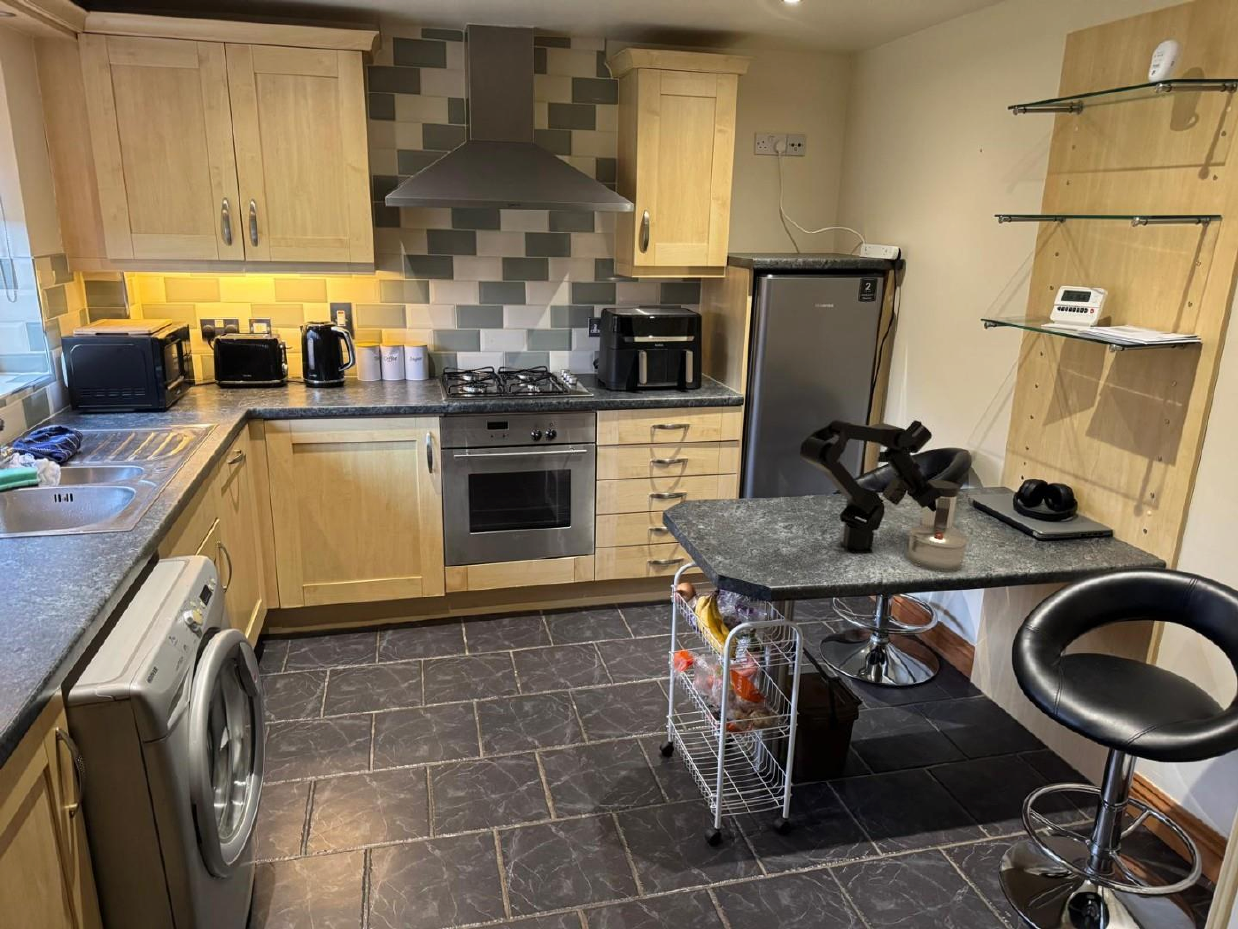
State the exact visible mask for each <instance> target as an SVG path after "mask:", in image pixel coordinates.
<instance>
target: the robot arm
mask: <svg viewBox="0 0 1238 929" xmlns="http://www.w3.org/2000/svg"><path fill="white" fill-rule="evenodd" d="M834 437H837V438H838V439H837V440H836V442H834V443H833V442H829V441H830V439H833V438H834ZM932 438H933V435H932V432H931V431H930V430H929V429H928V427H926V426H925V425H923V424H922V421H919V420H915V419H914V420H913V421H912V422H911V423H910V424H909V426H908V427H907V428H906V429H905V428H902V427H899V426H896V425H892V424H888V423H885V422H883V423H874V425H867V424H861V423H855V422H849V421H844V420H842V419H841V420H840V419H834V420H832V421H831V422H830V423H829V424H828V425H827V426H825V427H822V428H819V429H817V430H815V431H814V432H812V433H811V434H810V435H809V436H807V438H805V440H804V441H803V442H802V443H801V446H800V449H799V450H800V451H799V455H800V458H801V459H803V460H804V461H806V463H808V464H810V465H812V466H813V467H815V468H817V469H819V470H820V471H822V473H824V475H825V476H826V477H827V478H828V479H829V481H830V482H831V483H832V484H833V485H834V486H835V487H836V488H837V490H838V491H839V492H840V493H841V494H842V496H843V497H844V498H845V499H846V506H845V508H844V509H843V510H842V512H841V513H840V514H839V519H840V523H844V531H843V537H842V541H839V545H841V546H842V548H843V549H845V550H846V551H847V552H848V553H850V554H851V553H853V554H858V553H865V554H866V553H869V554H871V553H873V552H874V550H873V549H872V548H873V543H874V537H875V533H874V531H878V530H879V528H880V527H881V526H880V525H881V523H882V520H883V518H884V516H885V504H884V503H883V502H884V501H885V500H884V499H886V500H887V501H889V503H891V504H893V505H895V506H898V505H900V502H902V500H903V499H904V498H905V495H906V494H907V495H908V496H909V497H910V498H911V499H912V500H913V501H914V502H916V503H917V504H918V506H920V507H921V508H923V509H924V507H926V506H927V507H928V508H929V509H930V510H931V511H932V512H934V511H936V500H937V499H938V498H940V497H941V496H942V495H943V492H942V491H941V489H940V488H939V487H938V486H937V485H935V484H932V483H929V481H930V480H929V478H928V476H927V475H926V474H924V472H923V471H922V469H921V466H920V465H919V463H918V462H916V460H915V459H914V457H913V456H912V455H911V454H918V453H919V451H921V450H922V449H923V447H925V446H926V444H927V443H928V442H929V441H930V440H931V439H932ZM850 440H855V441H863V442H869V443H873V444H875V445H878V446H881V447H883V448H886V449H885V450H884V451H879V452H878V457H877V462H878V463H887V464H888V465H889V466H890V468H891V470H893V471H892V475H893V476H894V479H892V480H891V481H890V483H889V484H888V485H887V486H886V487H885V488H884V490H883V491H882V496H883V497H884V499H882V498H881V497H880V495H879V493H878V492H876V491H874V490H871V489H869V488H866V487H863V486H861V485H860V484H859V483H858V481H857V480H856V479H855V478H854V476H852V474H851V473H850V472H849V471H848V470H847V469H846V467H845V466H844V464H842V462H841V455H842V454H843V453H844V452H845V450H846V447H847V443H848V441H850ZM856 517H857V518H856ZM859 518H860V519H859ZM862 519H863V520H862ZM864 520H865V521H864Z"/></svg>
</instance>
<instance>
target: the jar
mask: <svg viewBox="0 0 1238 929" xmlns="http://www.w3.org/2000/svg"><path fill="white" fill-rule="evenodd" d="M928 482H929V483H932V484H935V485H937V486H938V487H939V488H940V489H941V491H942V492H943V495H942V496H941V497H942V498H948V499H950V509H949V515H948V521H947V526H946V527H947V528H950V529H952V525H953V520H954V516H955V515H954V514H955V508H956V504H957V498H958V494H959V488H960V487H959V485H958V484H956V483H954V482H952V481H948V480H943V479H942V480H941V479H932V480H928ZM937 502H938V499H937V500H936V508H937ZM935 514H936V511H934V512H932V511H931V510H930V509H929V508H928V507H927V506H926V507H923V512H922V519H921V524H920V525H934V520H935Z"/></svg>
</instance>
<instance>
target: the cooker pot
mask: <svg viewBox="0 0 1238 929" xmlns="http://www.w3.org/2000/svg"><path fill="white" fill-rule="evenodd" d="M966 546H967V545H966ZM966 546H964V547H960V548H943V547H936V546H932V545H928V544H925V543H922V542H919V541H917V540H915V539H914V538H912V537H911V535H910V536H909V543H908V550H907V554H906V555H907V556H906V557H907V558H908V559H909V560H910V561H911V562H910V561H909V560H908V559H907V558H906V559H907V560H908V561H909V562H910V563H912V562H913V563H914V565H915V564H917V565H920V566H922V567H924V568H923V569H926V568H927V569H926V570H931V571H935V570H937V571H936V572H943V573H944V572H946V573H947V572H948V573H949V572H951V573H952V572H957V571H959V570H961V569H962V568H963V564H964V558H965V552H966V549H967V548H966ZM913 563H912V564H913ZM917 565H916V566H917ZM920 566H919V567H920ZM922 567H921V568H922Z"/></svg>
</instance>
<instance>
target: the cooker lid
mask: <svg viewBox="0 0 1238 929" xmlns="http://www.w3.org/2000/svg"><path fill="white" fill-rule="evenodd" d="M949 509H950V499H948V498H942V497H940V498H938V502H937V508H936V514H935V520H934V525H923V524H918V525H914V526H912V527H911V528H910V531H909V534H910V535H911V537H912V538H914V539H915V540H917V541H919V542H922V543H925V544H928V545H932V546H936V547H943V548H960V547H964V546H967V545H968V540H969V539H968V537H967V535H966V534H964V533H963V532H961V531H958V530H956V529H953V528H951V529H950V528H947V527H946V526H947V521H948V515H949Z"/></svg>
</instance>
